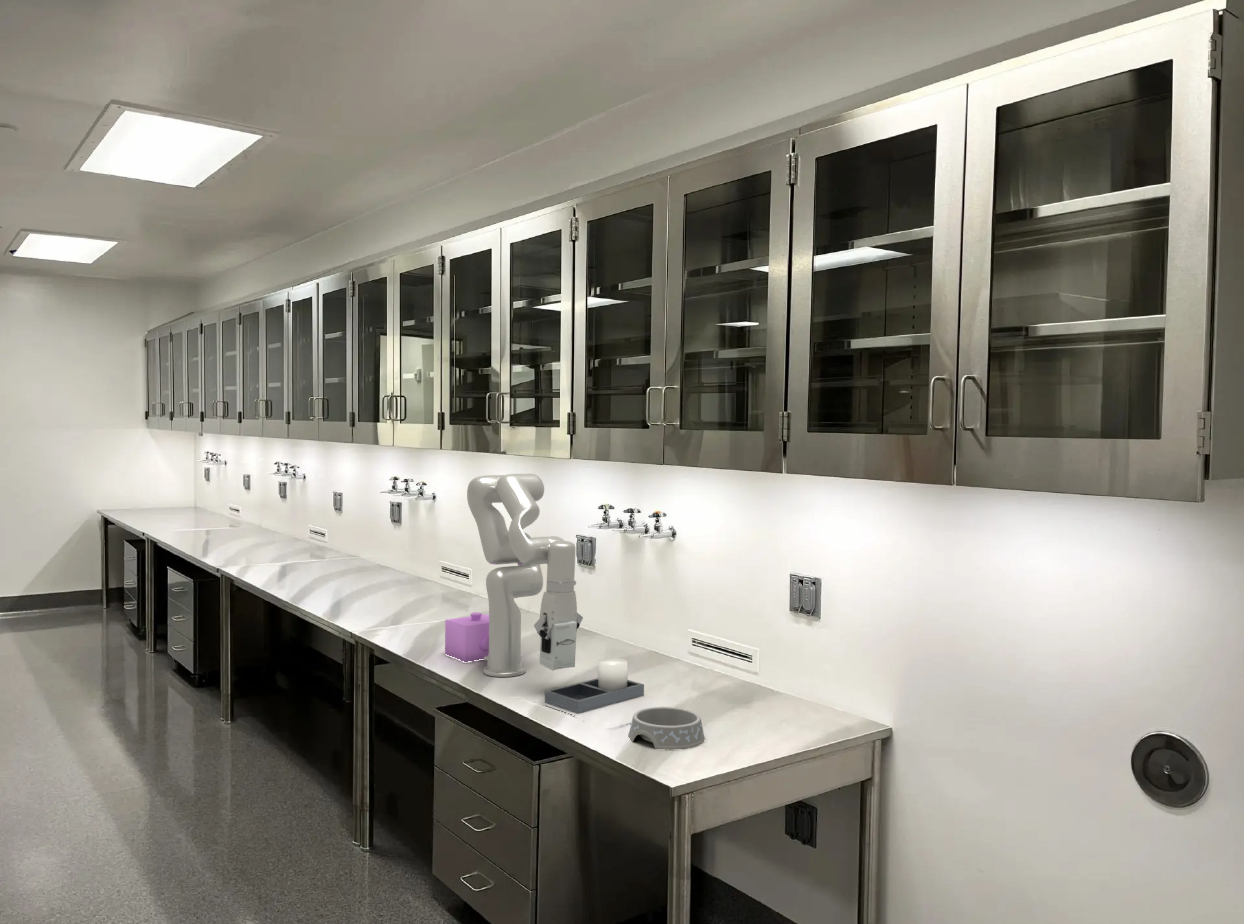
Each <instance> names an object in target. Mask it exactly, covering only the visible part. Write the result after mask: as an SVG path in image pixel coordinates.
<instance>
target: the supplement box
mask: <svg viewBox="0 0 1244 924" xmlns="http://www.w3.org/2000/svg"><path fill="white" fill-rule="evenodd" d="M545 623H546V622H545ZM544 625H545V624H544ZM547 627H548V624H547ZM542 629H543V627H542ZM547 631H548V629H547ZM547 631H546V633H547ZM576 631H578V629H577V622H575V621H569V622H563V623H558V624H553V629H552V630H551V635H550V637H549V639H551V652H550V653H549V654H548V653H545V652H542V651H541V644H542V637H540V641H539V643H540V644H539V665H541V666H543V667H545V668H546V669H549V670H550V671H557V670H562V669H569V668H575V667H576V648H577V633H576Z"/></svg>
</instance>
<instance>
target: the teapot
mask: <svg viewBox="0 0 1244 924" xmlns="http://www.w3.org/2000/svg"><path fill="white" fill-rule="evenodd" d="M444 621H445V624H444V625H445V626H444V627H445V628H444V629H445V630H444V631H445V633H444V636H445V638H444V655H445V654H447V655H449V656H452V657H455V658H457V659H460V660H461V661H464V662H468V661H474V660H479V659H484V657H485V656H487V655H488V654H489V614H487V613H486V614H483V613H482V612H477V611H476V612H471V613H470V616H469V615H468V616H463V617H455V618H448V619H445V620H444Z"/></svg>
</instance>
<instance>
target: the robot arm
mask: <svg viewBox="0 0 1244 924" xmlns="http://www.w3.org/2000/svg"><path fill="white" fill-rule="evenodd" d="M466 490H467V492H466V499H467V500H466V501H467V505H468V508H469V510H470V512H471V515H472V517H473V518H474V521H475V523H476V526H477V531H478V534H479V539H480V543H481V547H482V551H483V554H484V558H485V560H486V562H487V563H488V564H490V565H498V566H499V565H508V564H509V566H500V567H496V568H494V569H491V570H490V571H489V572H488V573H487V575H486V578H485V586H486V587H485V588H486V594H487V600H488V601H487V602H488V615H489V654H488V655H487V656H485V657H484V661H486V662H487V664H486V666H484V667H483V671H482V672H483V673H484V674H485V675H486V676H490V677H496V678H497V677H499V678H507V677H508V678H509V677H516V676H520V675H524V674H525V673H526V671H527V668H526V666H525V665H523V664H522V663H521V662H522V658H521V657H522V655H521V654H522V648H521V647H522V646H521V645H522V613H521V610H520V607H519V606H518V604H517V603H516V602H515V599H518V598H524V597H525V598H526V597H533V596H536V595H538V594H540V593H541V592H542V590H543V588H544V578H543V577H544V575H543V572H542V567H541V565H547V566H546V590H545V591H544V592H543V593H542V598H541V603H540V609H539V611H540V612H539V619H537V621H536V622H535V623H534V624H533V626H534V629H535V631H536V632H537V634H538V635H539V637H540V638H541V637H542V644H541V651H542V652H545V653H548V654H549V653H550V652H551V639H549V637H550V635H551V630H552V629H553V624H558V623H563V622H569V621H575V622H577V631H578V629H579V627H580V624H581V623H582V621H583V619H584V618H583V615H581V614H579V612H578V607H577V606H578V603H577V595H576V594H577V593H576V591H575V586H576V585H577V581H576V580H575V572H576V571H575V570H576V551H577V550H576V549H577V548H576V545H575V544H574V543H573V542H572V541H566V540H565V539H563V538H562V537H560V536H555V535H553V536H535V537H531V535H530V534H528V533H527V532H524V529H526V528H527V527H529V526H531V525H532V524H534V523H535V522H536V521H537V519H538V518H539V515H540V512H541V511H540V507H539V505H538V504H537V502H538V501H540V500H542V498H543V496H544V494H545V485H544V482H543V480H542V479H541V478H540V476H539V475H537V474H535V473H509V474H503V475H502V474H497V475H496V474H489V475H481V476H480V475H479V476H477V477H474V478H473V479H471V480H470V482H469V483H468V485H467V489H466ZM495 503H497V504H500V503H501V504H502V505H503V506H504V508H505V510H506V512H507V514H508V515H509V517H510V518H511V522H510V525H509V527H508V528H507V524H506V520H505V517H504V516H503V514H502V513H501V511H499V509H497V508H496V507H495V506H494V505H493V504H495ZM511 564H517V565H511ZM545 622H546V623H545ZM544 624H545V625H544ZM547 624H548V627H547ZM542 627H543V629H542ZM547 629H548V631H547ZM546 631H547V633H546ZM577 631H576V634H577Z"/></svg>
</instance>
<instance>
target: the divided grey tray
mask: <svg viewBox="0 0 1244 924" xmlns="http://www.w3.org/2000/svg"><path fill="white" fill-rule="evenodd" d="M644 696H645V684H644V683H640V682H637V681H633V680H629V679H628V682H627V688H623V689H619V690H615V691H611V692H610V691H607V690H604V689H601V688H598V677H596V678H592V679H590V680H585V681H580V682H576V683H573V684H568V685H563V686H560V687H555V688H552V689H547V690H545V691H544V703H546V704H548V705H551V706H553V707H550V706H548V705H544V707H546V708H549V709H552V710H554V711H555V710H556V711H558V712H560V711H561V713H563V712H564V713H563V714H566V713H568V712H572V713H575V714H577V715H578V714H579V715H580V714H582V713H585V712H589V711H590V712H591V711H593V710H597V709H600V708H604V707H607V706H610V705H614V704H619V703H621V702H626V701H629V700H632V699H636V698H640V697H644ZM555 707H556V708H555ZM557 708H560V709H563V710H565V711H568V712H565V711H563V710H560V709H557ZM572 713H568V714H567V715H569V714H570V715H569V716H572V715H574V714H572ZM575 716H576V715H574V716H573V717H575Z"/></svg>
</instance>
